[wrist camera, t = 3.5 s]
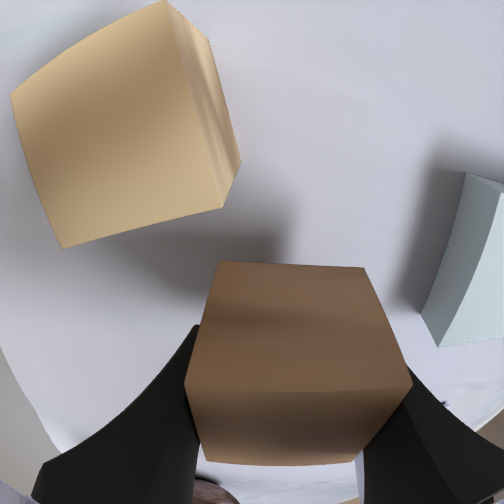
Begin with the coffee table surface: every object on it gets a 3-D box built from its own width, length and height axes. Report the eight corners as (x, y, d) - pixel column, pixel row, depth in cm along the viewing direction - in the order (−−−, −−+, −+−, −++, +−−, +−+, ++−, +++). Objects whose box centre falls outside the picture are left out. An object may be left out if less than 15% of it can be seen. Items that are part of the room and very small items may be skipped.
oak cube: (241, 161, 11) (222, 207, 6) (128, 192, 11) (62, 249, 7) (209, 40, 8) (164, -1, 4) (95, 86, 9) (9, 94, 5)
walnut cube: (335, 361, 12) (351, 462, 8) (223, 358, 12) (206, 461, 8) (363, 267, 10) (413, 384, 5) (218, 260, 10) (183, 383, 5)
